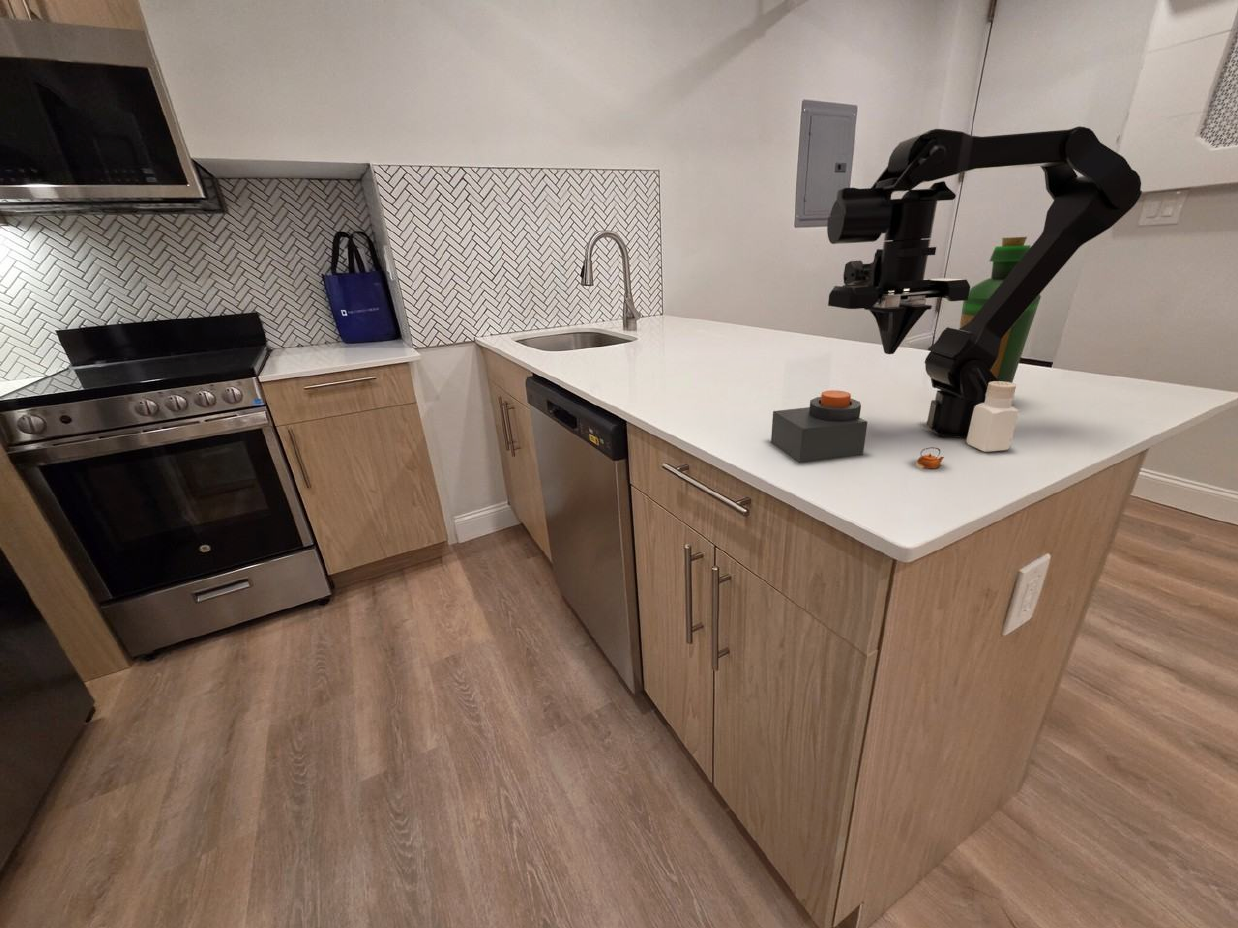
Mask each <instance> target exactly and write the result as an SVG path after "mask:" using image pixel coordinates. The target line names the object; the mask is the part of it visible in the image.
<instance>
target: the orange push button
mask: <svg viewBox="0 0 1238 928" xmlns="http://www.w3.org/2000/svg"><path fill="white" fill-rule="evenodd" d="M820 395H821V396H820V397H821V403H820V404H821V405H824V406H829V407H847V406H850V399H852V394H851V393H850V392H849V391H844V390H839V389H838V390H837V389H836V390H835V389H833V390H832V389H831V390H824V391H822V392H821V394H820Z"/></svg>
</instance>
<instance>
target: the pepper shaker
mask: <svg viewBox="0 0 1238 928" xmlns="http://www.w3.org/2000/svg"><path fill="white" fill-rule="evenodd" d="M1016 388H1017V384H1016V383H1014V382H1012V383H1010V382H1003V381H993V382H989V384H988V387H987V392H986V395H985V396H986V398H985V403H981V404H978V405H976V406H975V407H974V411H973V415H972V419H971V424H970V428H969V432H968V437H966V443H967V445H969V446H971V447H974V448H975V449H978V450H980V451H982V452H985V453H986V452H998V451H1007V450H1009V448H1010V446H1011V443H1012V438H1013V436H1014V432H1015V427H1016V424H1017V420H1018V416H1019V409H1017V408H1016V407H1015V406H1013V405H1012V402H1013V399H1014V397H1015V393H1016Z"/></svg>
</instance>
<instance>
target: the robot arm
mask: <svg viewBox="0 0 1238 928" xmlns="http://www.w3.org/2000/svg"><path fill="white" fill-rule="evenodd" d="M1033 167H1040V169H1041V170H1042V171H1043V173H1044V183H1045V190H1046V192H1047V193H1048V195H1049V196H1050V197H1051V198H1052V200H1053V201H1052V203H1051V205H1050V206H1049V208H1048V210H1047V211H1046V214H1045V219H1044V225H1043V229H1042V232H1041V234H1040V235H1039V236H1038V238H1037V239H1036V240H1035V242H1033V244H1032V245H1031V246H1030V249H1029V250H1028V251H1027V252H1026V254H1025V255H1024V256H1023V257H1022V259H1021V260H1020V261H1019V262H1018V263H1017V265H1016V266H1015V267H1014V268H1013V270H1012V271H1011V272H1010V273H1009V275H1008V276H1007V277H1006V278H1005V279H1004V281H1003V282H1002V283H1001V284H1000V286H999V287H998V288H997V289H996V290H995V292H994V293H993V294H992V295H991V297H990V298H989V299H988V300H987V301H986V303H985V304H984V305H983V306H982V308H981V309H980V310H979V311H978V312H977V314H976V315H975V316H974V317H973V319H972V320H971V321H970V322H969V323H968V324H966V325H965V326H963V327H961V328H960V327H959V328H960V329H959V328H955V327H950V326H947V327H946V328H944V330H942V332H941V333H940V335H939V337H938V338H937V340H936V341H935V342H934V343H933V344H932V345H931V346H929V347H928V348H927V351H929V352H928V354H927V356H926V358H925V360H924V366H925V372H926V375H927V376H928V377H929V378H930V383H931V388H934V389H937V390H936V393H935V398H934V399H932V400H931V401H930V406H929V411H928V415H927V421H926V425H927V426H928V427H929V428H930V430H931V431H932V432H933V433H934V434H935V435H936V436H937V437H944V438H945V437H949V438H950V437H951V438H967V437H968V432H969V428H970V424H971V419H972V415H973V411H974V407H975V406H976V405H978V404H981V403H985V398H986V396H985V395H986V392H987V387H988V384H989V382H993V381H998V379H997V378H996V377H995V376H994V375H993V374H992V372H991V371H990V370H991V368H992V367H993V365H994V364H995V362H996V361H997V359H998V354H999V349H1000V344H1001V340H1002V338H1003V337H1004V335H1005V334H1006V333H1007V332H1008V331H1009V330H1010V328H1011V327H1012V326H1013V325H1014V324H1015V322H1016V321H1017V320H1018V319H1019V318H1020V317H1021V315H1022V314H1023V313H1024V312H1025V311H1026V310H1027V308H1028V307H1029V306H1030V305H1031V304H1032V303H1033V301H1034V300H1035V299H1036V298H1037V297H1038V295H1039V294H1040V295H1041V294H1042V292H1043V291H1044V290H1045V288H1046V287H1048V285H1049V284H1050V283H1051V282H1052V281H1053V279H1055V277H1056V276H1057V274H1058V273H1059V272H1060V271H1061V270H1062V269H1063V268H1064V266H1065V265H1066V264H1067V262H1069V261H1070V259H1071V258H1072V257H1073V255H1075V253H1077V251H1078V250H1079V249H1080V248H1081V247H1082V246H1083V245H1085V244H1086V243H1088V242H1090V241H1091V240H1093V239H1095V238H1096V237H1098V236H1099V235H1101V234H1103V233H1105V232H1106V231H1108V230H1109V229H1111V228H1112V227H1113V226H1115V224H1116V223H1118V222H1119V221H1120V220H1122V218H1124V216H1125V215H1127V214H1128V213H1129V212H1130V211H1131V210H1132V209H1133V208H1135V206H1136V204H1137V203H1138V202H1139V200H1140V199H1141V196H1142V194H1143V191H1142V190H1141V188H1142V179H1141V176H1140V175H1139V173H1138V172H1137V171H1136V170H1134V169H1133V168H1132V167H1131V165H1130V163H1129V162H1128V161H1127V159H1126V158H1125V157H1124V156H1123V155H1121V154H1119V153H1118V152H1117V151H1115V150H1113V149H1112V148H1110V147H1109V146H1107V145H1105V144H1104V143H1102V142H1101V141H1100V140H1099V139H1098V137H1097V135H1096V133H1095V132H1094V131H1093V130H1092V129H1091V128H1089V127H1086V126H1075V127H1070V128H1068V129H1060V130H1059V129H1058V130H1048V131H1033V132H1023V133H1012V134H1011V133H1010V134H1001V135H999V134H998V135H987V136H985V135H984V136H978V135H973V134H969V133H968V132H965V131H961V130H953V129H952V130H951V129H944V128H934V129H930V130H928V131H924V132H922V133H919V134H917V135H914V136H912V137H909V138H907V139H904V140H902V141H900V142H899V143H898V144H897V145H896V147H894V149H893V150H892V152H891V154H890V156H889V159H888V163H887V166H886V167H885V169H884V170H883V172H882V173H881V174H880V175H879V177H878V178H877V179H876V181H875V182H873V185H871V186H870V187H867V188H858V187H844V188H840V189H838V190H837V193H836V200H835V201H834V203H833V205H832V207H831V210H830V213H829V216H827V223H826V233H827V238H828V241H829V243H830V244H832V245H840V244H841V245H843V244H859V243H861V244H862V243H874V242H876V241H878V240H879V239H880V237H881V236H882V234H884V238H883V245H882V248H876V252H874V256H873V261H872V262H869V263H863V261H862V260H849V261H848V262H847V263H845V265H844V269H843V275H842V277H843V285H841V284H840V285H834V286H833V288H832V289H831V290H830V292H829V294H828V303H827V306H829V307H835V308H839V309H846V310H859V309H860V310H861V309H863V310H866V311H869V312H870V313H871V315H872V316H873V318H874V319H875V322H876V324H877V327H878V331H879V332H878V333H879V335H880V340H881V344H882V348H883V353H884V354H886V355H894V354H895V353H896V351H897V350H898V348H899V347H900V346H901V344H902V343H903V342H904V339H906V337H907V336H908V334H909V333H910V332H911V330H912V328H914V326H915V325H916V324H917V323H918V321H919V320H920V319H921V317H922V316H923V315H924V314H925V312H926V311H928V310H929V311H930V310H932V308H933V305H931V304H926V302H927V299H935V298H941V299H947V301H948V302H962V301H963V300H968V296H969V292H970V289H971V285H970V283H969V280H968V279H966V278H945V277H942V278H941V277H939V278H925V275H926V268H927V263H928V258H929V257H928V256H936V253H937V246H931V241H932V235H933V230H934V229H933V228H934V223H935V217H936V213H937V205H938V203H942V202H943V203H944V202H948V201H953V200H955V199H956V198H957V194H956V193H955V192H954V191H953V190H952V189H950V187H948V185H947V184H946V181H944V180H943V181H942V180H941V181H937V180H940V179H944V178H947V177H951V176H955V175H959V174H962V173H971V172H983V171H985V172H986V171H995V170H1009V169H1020V168H1033ZM1077 173H1079V174H1080V175H1078V174H1077ZM933 181H937V182H934V183H933V184H932V185H931V186H930V187H929V188H919V189H917V188H916V187H917V186H919V185H920V184H924V183H929V182H933ZM914 188H916V189H914ZM903 192H905V193H904V194H903V195H902V197H901V198H892V195H894V194H899V193H903Z"/></svg>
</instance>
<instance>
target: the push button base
mask: <svg viewBox="0 0 1238 928" xmlns="http://www.w3.org/2000/svg"><path fill="white" fill-rule="evenodd" d="M820 403H821V396H817V397H814V398H812V399H810V400H809V406H808V407H807V406H806V407H797V408H788V409H782V410H781V409H780V410H773V411H772V420H771V422H772V423H771V434H770V443H771V444H773V445H774V446H775V447H777V448H778V449H780V450H781V451H782V452H784V453H785V454H787V456H789V457H790V458H792V459H793V460H795V461H796V462H797V463H799V464H804V463H810V462H820V461H826V460H827V461H828V460H834V459H842V458H849V457H850V458H851V457H858V456H864V449H865V443H866V436H867V427H868V420H865V419H863V418H861V417H860V416H861V409H862V403H861V402H860V401H859V400H857V399H854V398H851V399H850V406H847V407H829V406H824V405H821V404H820Z"/></svg>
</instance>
